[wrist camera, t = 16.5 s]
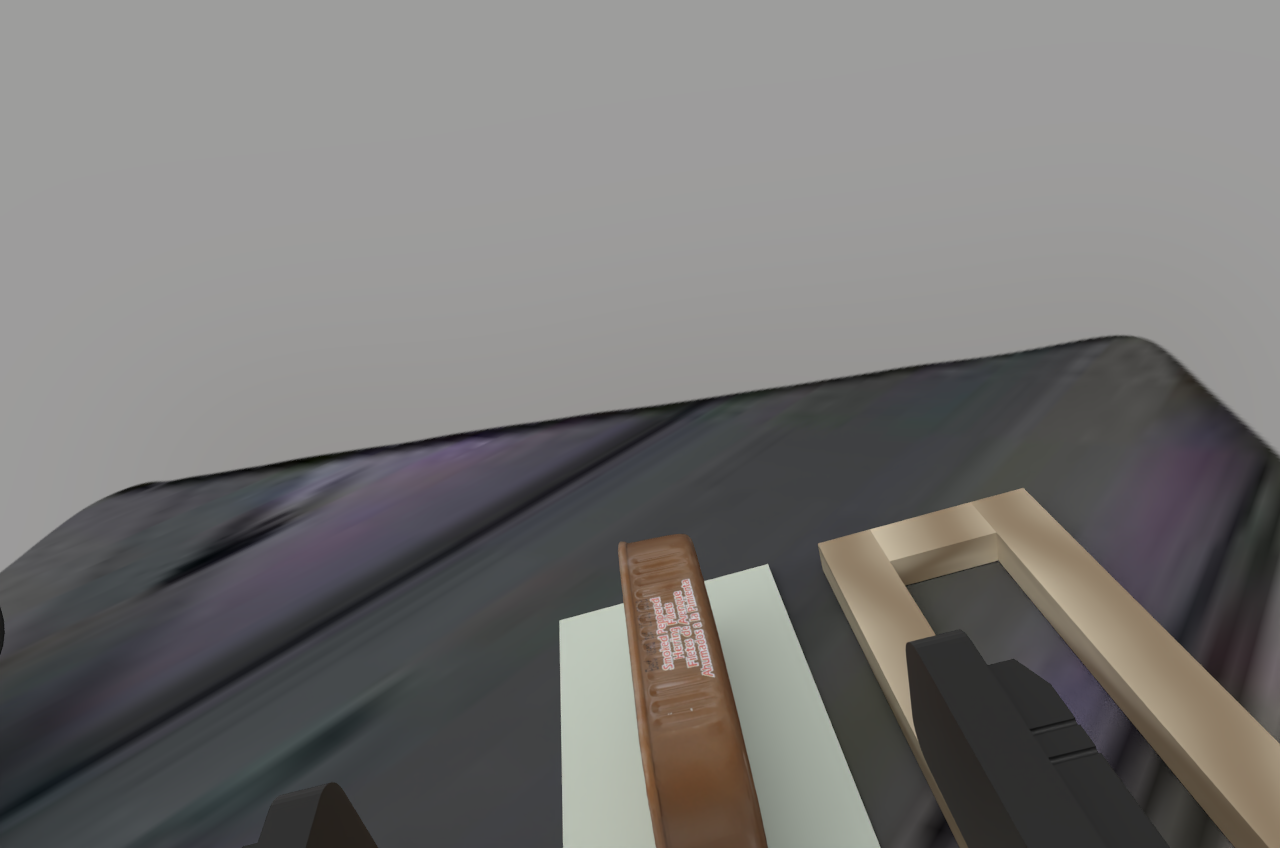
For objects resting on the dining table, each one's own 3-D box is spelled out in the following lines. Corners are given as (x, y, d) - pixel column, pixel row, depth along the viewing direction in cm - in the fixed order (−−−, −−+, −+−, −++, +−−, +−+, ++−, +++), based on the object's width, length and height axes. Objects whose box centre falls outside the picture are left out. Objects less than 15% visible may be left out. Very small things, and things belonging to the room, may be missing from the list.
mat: (576, 1261, 19) (570, 1252, 19) (562, 628, 39) (559, 620, 38) (999, 1155, 19) (998, 1145, 19) (769, 572, 38) (767, 564, 38)
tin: (651, 666, 34) (595, 500, 31) (724, 647, 34) (678, 478, 30) (710, 1085, 21) (624, 882, 17) (831, 1056, 21) (772, 845, 17)
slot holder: (1104, 1141, 19) (1104, 1108, 18) (822, 569, 38) (817, 543, 37) (1520, 1037, 18) (1536, 1000, 18) (1024, 515, 37) (1023, 488, 37)
